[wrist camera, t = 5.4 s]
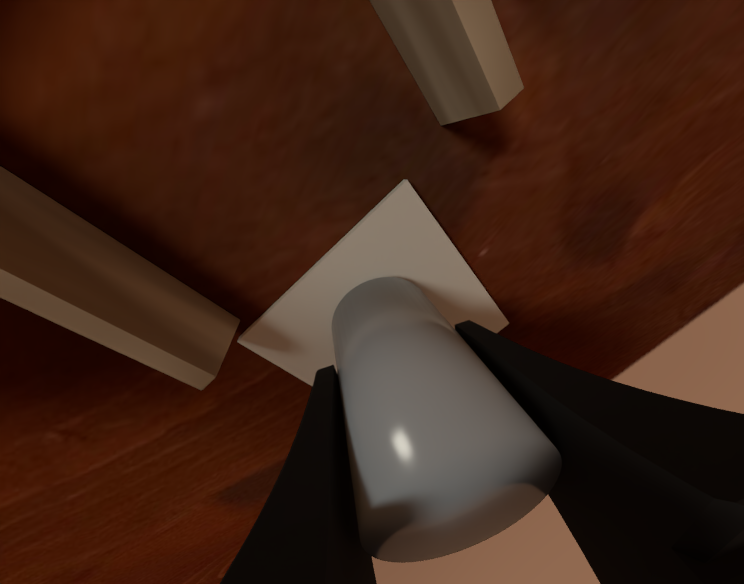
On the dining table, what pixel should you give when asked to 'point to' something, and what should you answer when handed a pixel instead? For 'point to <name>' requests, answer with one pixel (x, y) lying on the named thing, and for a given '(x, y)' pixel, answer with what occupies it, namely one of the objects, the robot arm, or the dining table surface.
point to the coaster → (363, 263)
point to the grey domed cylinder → (429, 429)
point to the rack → (164, 292)
